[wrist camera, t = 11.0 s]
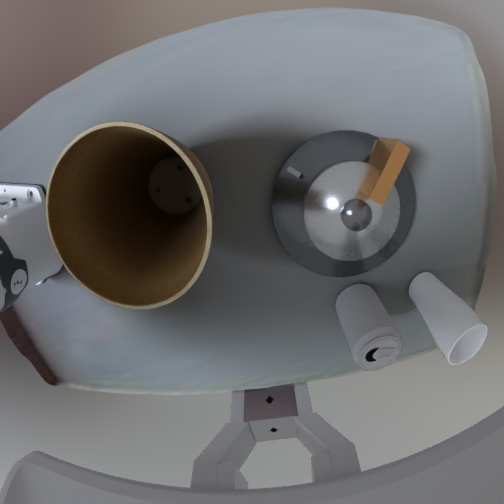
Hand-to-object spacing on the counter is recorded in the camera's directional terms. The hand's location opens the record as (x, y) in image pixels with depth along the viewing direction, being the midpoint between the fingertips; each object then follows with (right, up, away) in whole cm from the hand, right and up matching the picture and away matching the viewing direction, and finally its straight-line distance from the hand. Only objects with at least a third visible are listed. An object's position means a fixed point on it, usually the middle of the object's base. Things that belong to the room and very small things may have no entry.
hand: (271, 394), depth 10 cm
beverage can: (+14, -1, +29) cm, 32 cm away
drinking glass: (+26, +1, +28) cm, 38 cm away
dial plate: (+11, +12, +23) cm, 28 cm away
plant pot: (-10, +14, +23) cm, 29 cm away
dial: (+12, +12, +21) cm, 27 cm away
